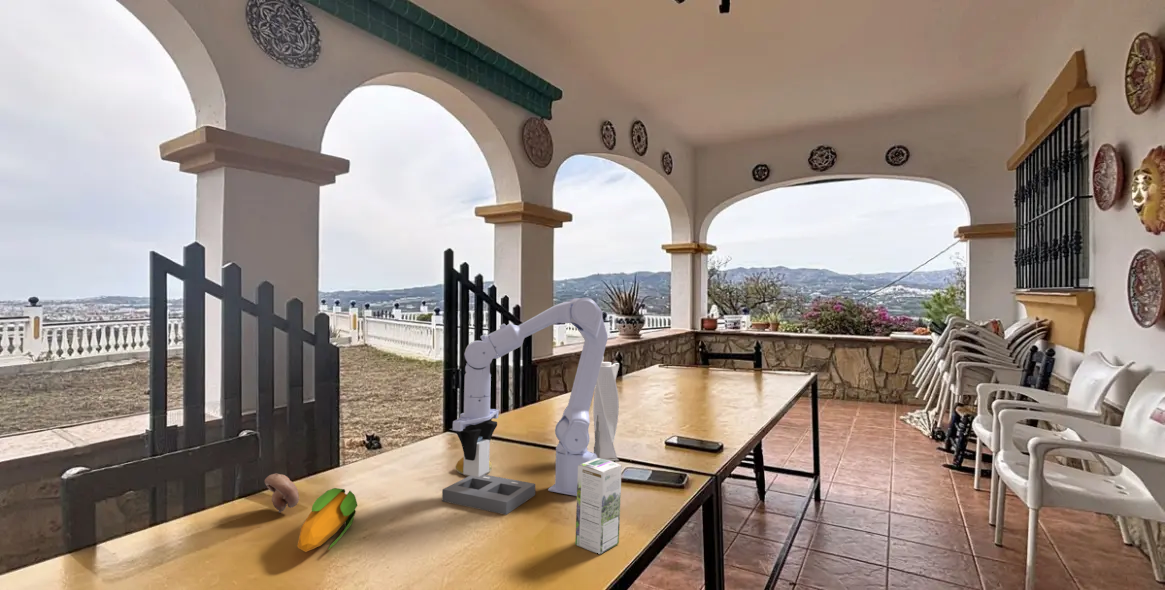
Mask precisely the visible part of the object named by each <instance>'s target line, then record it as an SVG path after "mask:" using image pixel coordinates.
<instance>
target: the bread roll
mask: <svg viewBox="0 0 1165 590" xmlns="http://www.w3.org/2000/svg"><path fill="white" fill-rule="evenodd" d="M463 466H464V456H463V457H461V458H460V459H459V460H458V461H457V463H456V465H455V469H456V471H457V473H459V474H460V475H464V476H465V477H468V476H470V475H465V474H463ZM492 466H493V464H492V462H491V461H490V460H489V472H487V473H485V474H484V475H489V473H491V472H492V468H493V467H492Z"/></svg>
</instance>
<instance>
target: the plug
mask: <svg viewBox="0 0 1165 590" xmlns="http://www.w3.org/2000/svg"><path fill="white" fill-rule="evenodd" d="M490 443H491V440H486V439H482V436H479V438H478V441H477V447H476V456H475V460H473V461H472V460H466V459H465V456H464V455H463V457H464V466H463V474H462V475H464V474H465V475H471V476H476V477H479V476H481V475H483V474H485V473H487V472H489V461H490V450H491V449H490ZM465 475H464V476H465Z"/></svg>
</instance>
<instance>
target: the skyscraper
mask: <svg viewBox="0 0 1165 590" xmlns="http://www.w3.org/2000/svg"><path fill="white" fill-rule="evenodd" d="M604 359H605V357H604V355H603V359H602V363H601V366H600V370H599V374H598V378H597V382H596V386H595V390H594V394H593V407H592V408H593V409H592V410H593V412H592V414H593V430H594V446H593V453H594V454H596V455H597V458H600V459H606V460H609V461H612V462H614V461H619V462H620V459H619V458H618V456H617V453H616V448H615V445H614V442H615V436H616V432H617V428H618V423H619V422H618V421H619V412H620V410H619V407H620V406H619V405H620V403H619V402H620V400H619V391H618V386H617V381H616V380H617V376H618V374H619V373H618V371H619V369H620V363H619V362H615V363H613V364H612V362H611V361H604Z"/></svg>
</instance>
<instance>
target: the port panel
mask: <svg viewBox="0 0 1165 590" xmlns="http://www.w3.org/2000/svg"><path fill="white" fill-rule="evenodd" d="M441 492H442V495H441V497H442V499H441V501H442V502H445V503H449V504H454V505H459V506H462V507H463V506H464V507H469V508H473V509H478V510H483V511H486V512H492V513H496V514H501V515H505V516H506V515H508V514H509V513H511V512H512V511H514V510H515V509H517V508H518V507H520V506H522V505H523V504H524V503H526V502H527V501H528V500H530V499H531V498H533V497H534V496H536V483H535V482H534V483H533V482H528V481H522V480H515V479H511V478H506V477H500V476H494V475H489V474H486V475H484V474H483V475H481V476H479V477H476V476H471V475H470V476H465V477H464V478H462V479H460V480H459V481H457V482H454V483H452V484H450V485H449V486H446V487H445V488H442V491H441Z"/></svg>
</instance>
